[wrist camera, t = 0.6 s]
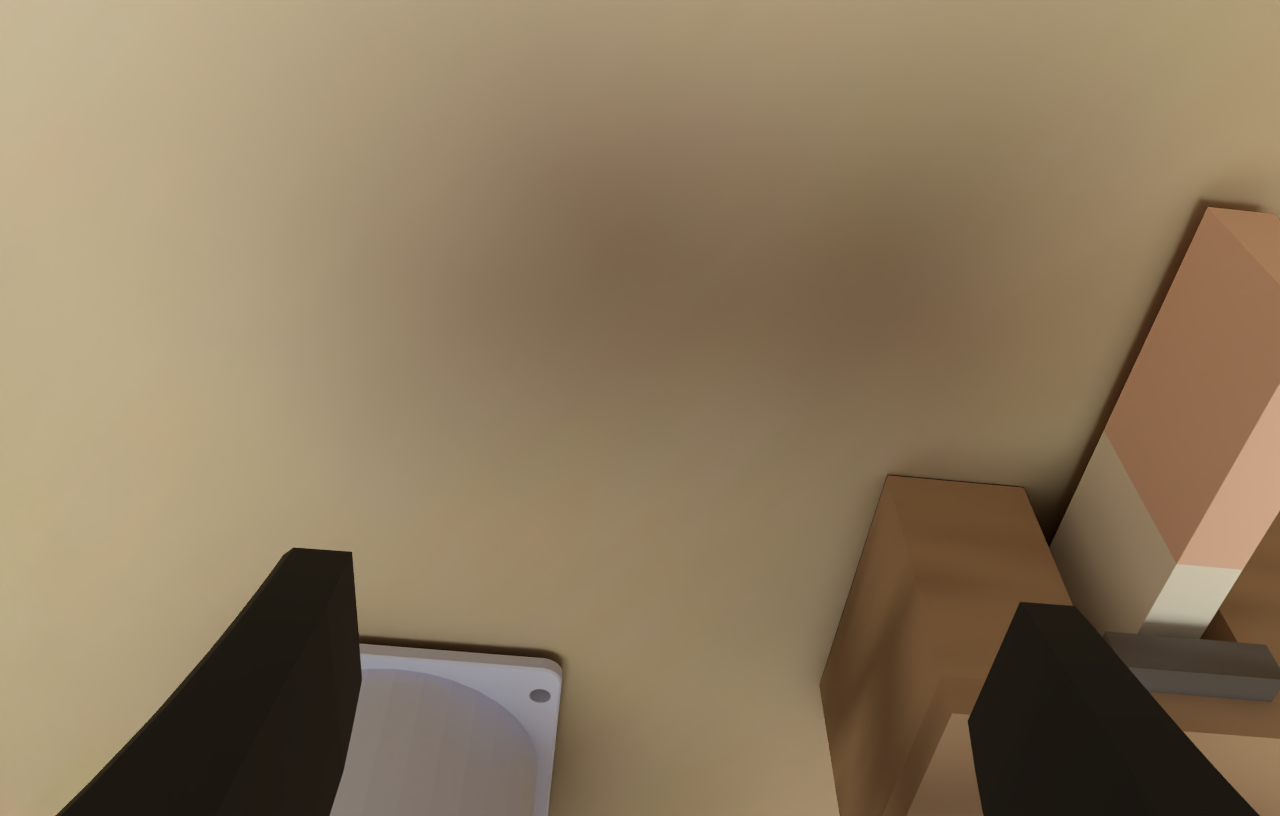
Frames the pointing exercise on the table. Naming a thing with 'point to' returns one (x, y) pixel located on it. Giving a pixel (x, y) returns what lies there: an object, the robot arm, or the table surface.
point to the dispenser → (973, 632)
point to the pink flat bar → (1186, 445)
